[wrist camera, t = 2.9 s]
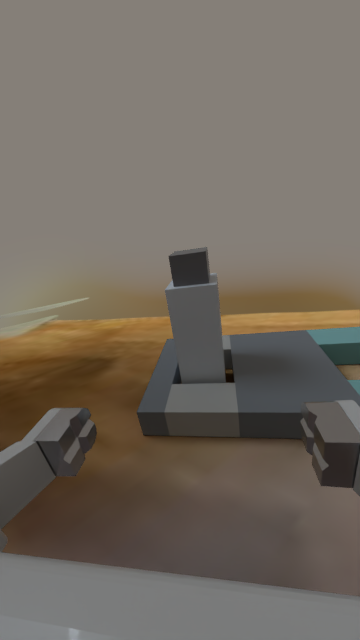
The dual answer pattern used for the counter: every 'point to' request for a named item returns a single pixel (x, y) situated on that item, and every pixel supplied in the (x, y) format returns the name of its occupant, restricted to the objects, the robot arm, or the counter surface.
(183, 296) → the plug
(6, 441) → the counter surface
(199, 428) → the panel
